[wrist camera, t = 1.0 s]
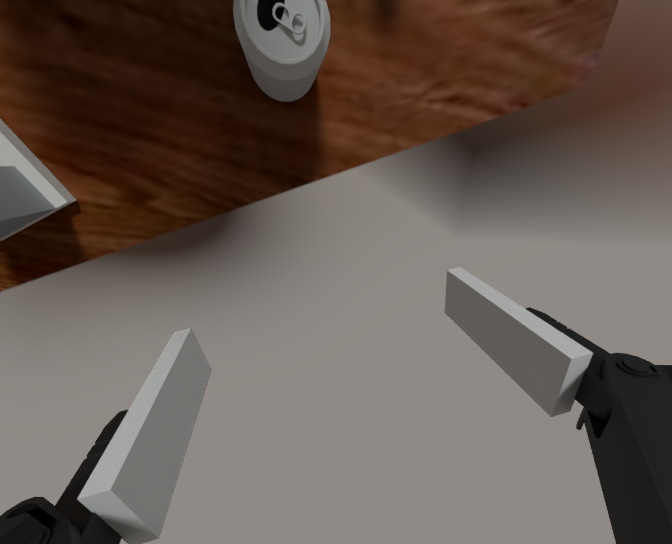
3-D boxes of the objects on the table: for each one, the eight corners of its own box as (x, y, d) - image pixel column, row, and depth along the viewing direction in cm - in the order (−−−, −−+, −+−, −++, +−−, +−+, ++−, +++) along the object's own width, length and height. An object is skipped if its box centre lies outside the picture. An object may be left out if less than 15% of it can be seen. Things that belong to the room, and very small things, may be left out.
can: (262, 4, 27) (249, -94, 17) (326, 48, 30) (351, -13, 19) (239, 80, 30) (215, 37, 19) (300, 115, 32) (310, 94, 21)
